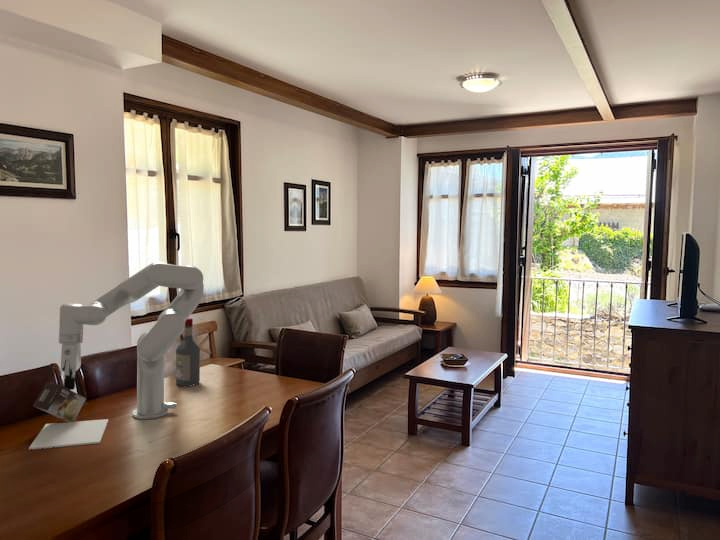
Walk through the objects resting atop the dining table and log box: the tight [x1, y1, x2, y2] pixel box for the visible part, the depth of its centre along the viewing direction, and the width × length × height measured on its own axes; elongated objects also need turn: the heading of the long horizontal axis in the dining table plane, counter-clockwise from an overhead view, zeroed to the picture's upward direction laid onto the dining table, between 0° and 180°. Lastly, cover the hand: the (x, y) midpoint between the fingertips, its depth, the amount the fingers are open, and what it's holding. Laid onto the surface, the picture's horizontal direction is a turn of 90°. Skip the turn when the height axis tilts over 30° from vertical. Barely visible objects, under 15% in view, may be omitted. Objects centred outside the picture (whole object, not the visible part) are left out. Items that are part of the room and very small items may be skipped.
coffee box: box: [32, 381, 87, 422], centre depth 184 cm, size 9×6×16 cm
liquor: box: [175, 318, 201, 387], centre depth 241 cm, size 9×9×30 cm
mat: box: [28, 418, 109, 451], centre depth 177 cm, size 20×22×1 cm
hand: (69, 388), depth 188 cm, fingers closed
